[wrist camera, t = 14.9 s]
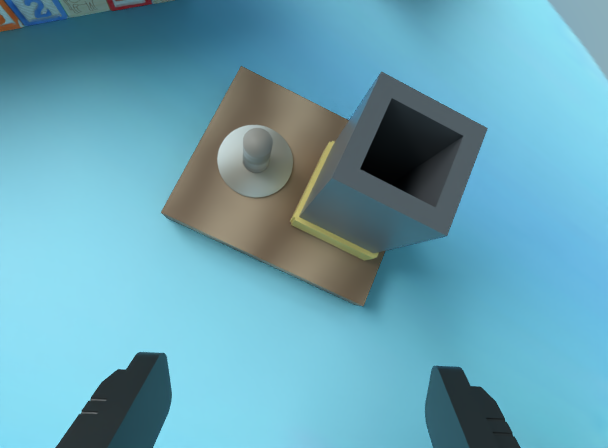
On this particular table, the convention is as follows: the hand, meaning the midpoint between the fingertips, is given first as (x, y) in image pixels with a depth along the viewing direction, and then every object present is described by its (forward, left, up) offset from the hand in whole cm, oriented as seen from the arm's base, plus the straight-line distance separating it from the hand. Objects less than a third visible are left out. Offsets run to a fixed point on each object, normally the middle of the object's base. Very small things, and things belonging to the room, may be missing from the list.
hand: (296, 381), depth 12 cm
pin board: (-2, +10, -16) cm, 19 cm away
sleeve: (+1, +10, -14) cm, 17 cm away
